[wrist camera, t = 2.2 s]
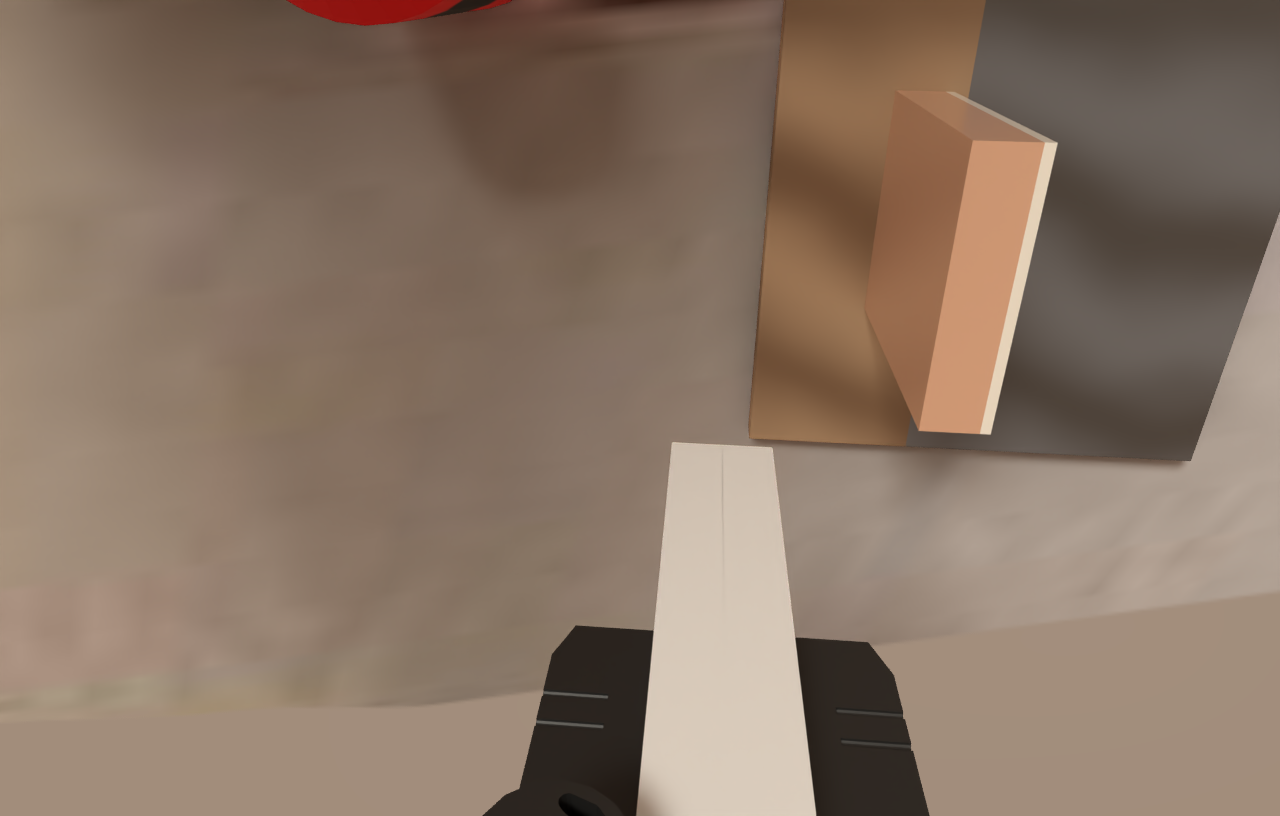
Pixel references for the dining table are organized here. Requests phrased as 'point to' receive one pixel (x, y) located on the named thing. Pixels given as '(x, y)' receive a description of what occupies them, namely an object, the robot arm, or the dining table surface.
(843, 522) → the dining table surface
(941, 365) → the tile
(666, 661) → the robot arm
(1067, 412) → the board
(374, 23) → the soda can
